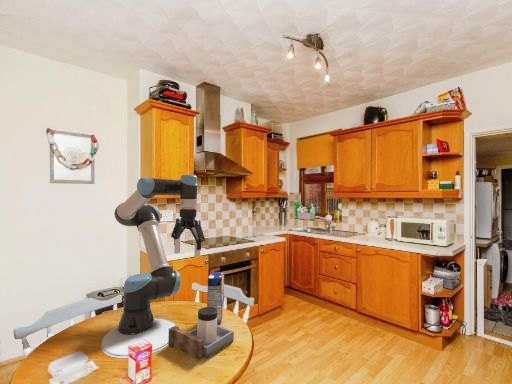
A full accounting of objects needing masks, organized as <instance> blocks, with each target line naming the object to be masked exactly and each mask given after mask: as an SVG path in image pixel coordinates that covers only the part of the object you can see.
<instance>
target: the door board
mask: <svg viewBox="0 0 512 384" xmlns="http://www.w3.org/2000/svg"><path fill="white" fill-rule="evenodd" d="M188 332H189V331H185V330H183V329H181V328H180V326H177V325H174V326H172V327H169V328H168V338H167V339H168V341H167V343H168V344H167V345H168V346H167V347H170V348H172V349H173V348H174V349H176V350H178V351H180V352H181V353H184V354H185V355H188V356H189V357H191V358H194V359H195V360H197V361H201V360H202V359H204V357H203V340H204V339H201V338H199V337H197V336H195V335H192V334H190V333H188Z"/></svg>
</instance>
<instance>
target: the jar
mask: <svg viewBox="0 0 512 384" xmlns="http://www.w3.org/2000/svg"><path fill="white" fill-rule="evenodd" d="M217 315H218V313H217V309H216V308H214V307H207V306H205V307H201V308H200V309H198V311H197V321H196V322H197V323H196V324H197V325H196V328H197V337H199V338H201V339H204V340H203V344H204V345H207V344H211V343H213V342H215V341H216V338H217V325H218V324H217Z"/></svg>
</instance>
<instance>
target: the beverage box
mask: <svg viewBox="0 0 512 384" xmlns="http://www.w3.org/2000/svg"><path fill="white" fill-rule="evenodd" d="M224 299H225V272H224V271H223V272H221V271H219V272H218V271H217V272H215V271H214V272H213V271H211V273H210V274H209V276H208V278H207V300H206V301H207V303H206V304H207V305H206V307H214V308H216V309H217V313H218V315H217V325H222V320H223V318H224V306H225V305H224V302H225V301H224Z"/></svg>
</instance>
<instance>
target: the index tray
mask: <svg viewBox="0 0 512 384" xmlns="http://www.w3.org/2000/svg"><path fill="white" fill-rule="evenodd" d="M187 332H188V333H190V334H192V335H195V336H197V327H195V328H193V329H191V330H190V331H187ZM234 335H235V331H233V330H231V329H228V328H226V327H223V326H222V325H219V324H217V338H216V341H215V342H213V343H211V344H207V345H204V344H203V359H204V358H205V359H208V358H210V357H212V356H213V355H214V354H216V353H218V352H219V351H221V350H222V349H224V348H225V347H227V346H228V345H230V344H232V343H233V342H234V340H235V339H234Z"/></svg>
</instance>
